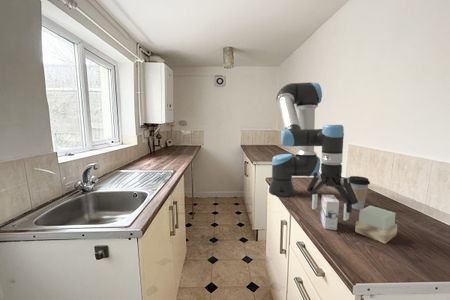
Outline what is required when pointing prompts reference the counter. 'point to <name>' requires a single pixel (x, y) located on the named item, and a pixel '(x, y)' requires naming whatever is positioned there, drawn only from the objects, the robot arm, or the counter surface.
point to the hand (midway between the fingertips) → (329, 213)
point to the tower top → (377, 217)
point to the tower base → (376, 232)
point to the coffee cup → (359, 190)
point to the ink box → (329, 212)
